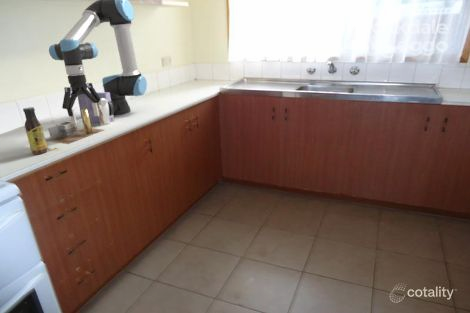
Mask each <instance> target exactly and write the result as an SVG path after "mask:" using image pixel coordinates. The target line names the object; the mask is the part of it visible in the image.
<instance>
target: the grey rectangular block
mask: <svg viewBox="0 0 470 313" xmlns="http://www.w3.org/2000/svg"><path fill="white" fill-rule="evenodd" d="M47 130H48V133H49V136H50V139H51V140H55V139H58V138H61V137H63V133H68V132H71V131H74V130H77V126H75V127H72V128H69V129H66V130H64V129H61V125H59V126H56V125H55V126H53V127H50V128H48V129H47Z"/></svg>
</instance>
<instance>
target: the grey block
mask: <svg viewBox="0 0 470 313" xmlns="http://www.w3.org/2000/svg"><path fill="white" fill-rule="evenodd" d="M76 121H77V123H72V122H71V120H70V121H69V120H66V121H62V122H59V123H56V124H55V127H56V126H59V125H61V129H64V130H66V129H69V128H72V127H75V126H77V130H74V131H71V132H68V133H63V137H67V138H68V137H71V136H73V135H76V134H79V133H78V131H80V130H83V129H84V128H85V125H84V123H83V121H82V118H78V119H76Z"/></svg>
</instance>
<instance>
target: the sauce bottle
mask: <svg viewBox="0 0 470 313" xmlns="http://www.w3.org/2000/svg"><path fill="white" fill-rule="evenodd" d="M22 111H23V113H24V116H25V122H24V128H25V133H26V136H27V139H28V144H29V148H30V150H31V154H33V155H41V154H45V153H47V152H48V150H49V149H48V144H47V141H46V140H47V139H46V138H45V134H44V130H43V125H42V124H41V122H39V120H38V118H37V115H36V112H35V111H36V110H35V108H34V107H32V106H30V107H29V106H28V107H24V108H22Z"/></svg>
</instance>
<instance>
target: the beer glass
mask: <svg viewBox="0 0 470 313" xmlns="http://www.w3.org/2000/svg"><path fill="white" fill-rule="evenodd" d="M100 99H101V100H99V103H98V106H99V109H98V111H99V116H98V118H99V121H100V122H99V125H100V126H109V125H111V124H112V122H110V118H109V105H108V101H107V98H100Z"/></svg>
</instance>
